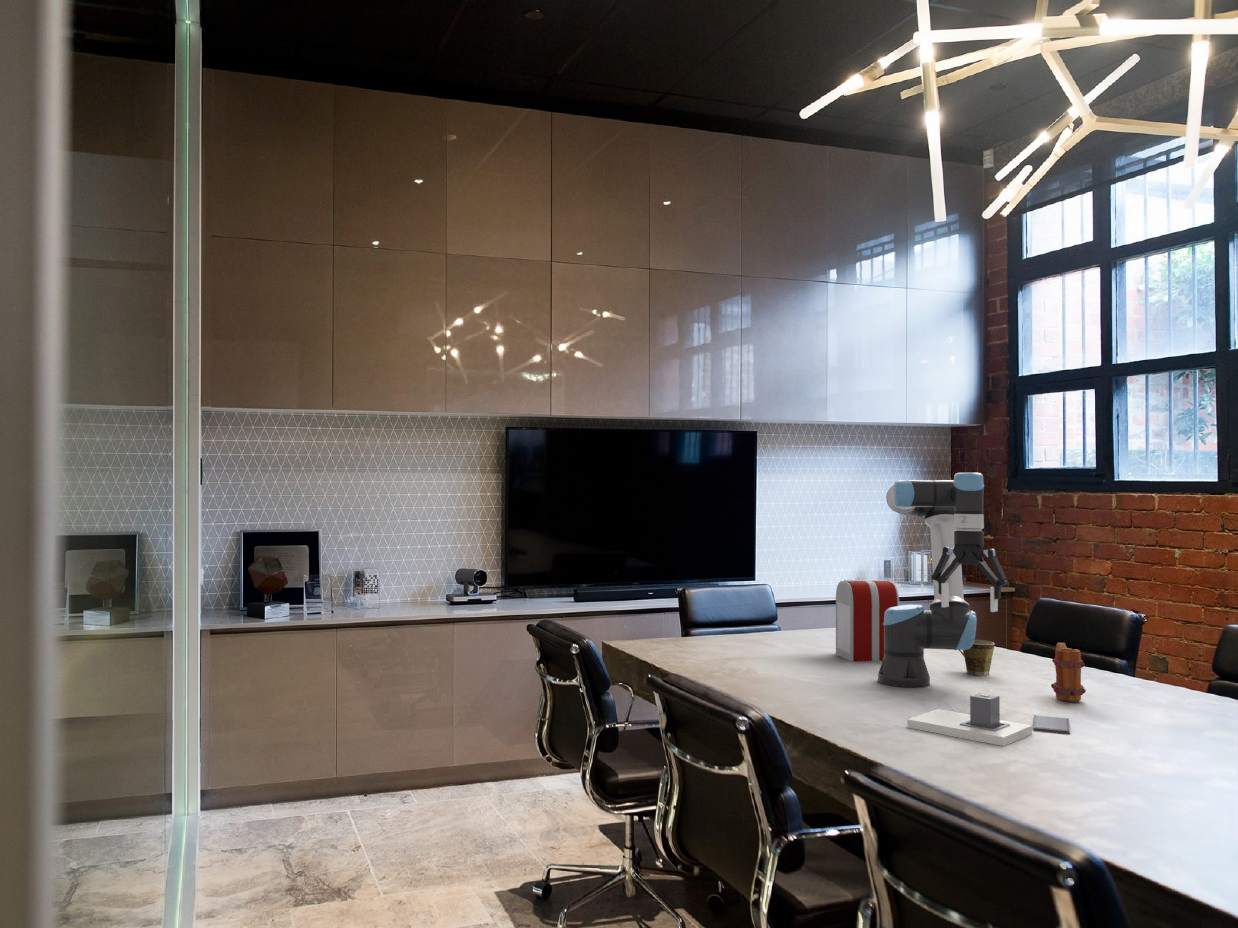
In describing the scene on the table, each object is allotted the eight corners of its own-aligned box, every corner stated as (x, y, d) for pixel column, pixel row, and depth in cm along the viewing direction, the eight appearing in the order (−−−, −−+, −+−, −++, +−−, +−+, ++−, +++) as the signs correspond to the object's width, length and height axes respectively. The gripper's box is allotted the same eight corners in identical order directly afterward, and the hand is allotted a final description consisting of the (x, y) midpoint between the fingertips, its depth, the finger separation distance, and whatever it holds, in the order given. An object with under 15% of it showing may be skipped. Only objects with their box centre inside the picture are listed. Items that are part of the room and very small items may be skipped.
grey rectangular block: (970, 733, 229) (970, 695, 229) (979, 729, 232) (979, 692, 232) (990, 737, 225) (990, 698, 225) (999, 733, 229) (999, 695, 229)
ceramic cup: (1001, 674, 304) (1001, 642, 304) (982, 677, 298) (981, 645, 298) (966, 667, 314) (965, 637, 315) (947, 670, 309) (946, 640, 309)
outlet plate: (907, 727, 234) (907, 717, 234) (937, 716, 245) (937, 707, 246) (1003, 746, 217) (1003, 735, 217) (1031, 733, 228) (1031, 724, 229)
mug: (1088, 704, 260) (1088, 649, 261) (1057, 703, 262) (1056, 648, 262) (1074, 693, 275) (1074, 641, 275) (1044, 692, 276) (1044, 640, 277)
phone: (1033, 732, 232) (1033, 727, 232) (1034, 719, 245) (1034, 714, 245) (1069, 736, 228) (1069, 730, 228) (1068, 722, 242) (1068, 717, 242)
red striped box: (834, 653, 341) (834, 578, 342) (882, 652, 343) (881, 577, 344) (850, 661, 325) (850, 582, 326) (900, 660, 327) (900, 582, 328)
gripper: (918, 528, 261) (919, 606, 261) (1009, 531, 244) (1009, 614, 243) (931, 528, 267) (932, 603, 266) (1021, 531, 249) (1021, 612, 248)
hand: (969, 609), depth 255 cm, fingers open, 13 cm apart
